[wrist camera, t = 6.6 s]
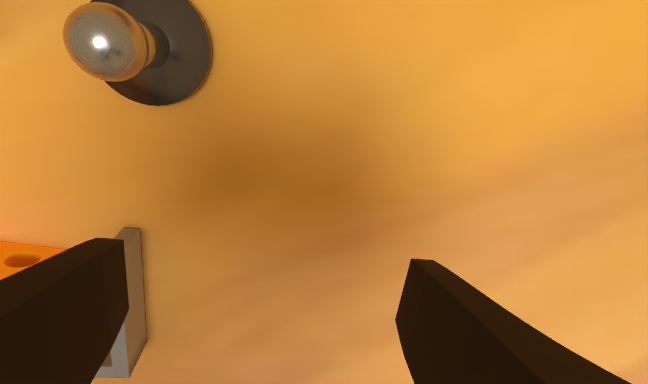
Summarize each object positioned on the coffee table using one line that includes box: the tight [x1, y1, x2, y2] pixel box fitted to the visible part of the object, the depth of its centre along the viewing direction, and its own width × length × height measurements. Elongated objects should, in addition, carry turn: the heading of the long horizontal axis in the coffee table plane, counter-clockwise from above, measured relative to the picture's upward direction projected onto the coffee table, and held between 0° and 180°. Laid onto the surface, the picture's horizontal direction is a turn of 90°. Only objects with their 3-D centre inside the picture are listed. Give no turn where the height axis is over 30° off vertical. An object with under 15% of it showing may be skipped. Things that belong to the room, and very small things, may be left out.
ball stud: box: [63, 0, 213, 106], centre depth 13 cm, size 5×5×6 cm
